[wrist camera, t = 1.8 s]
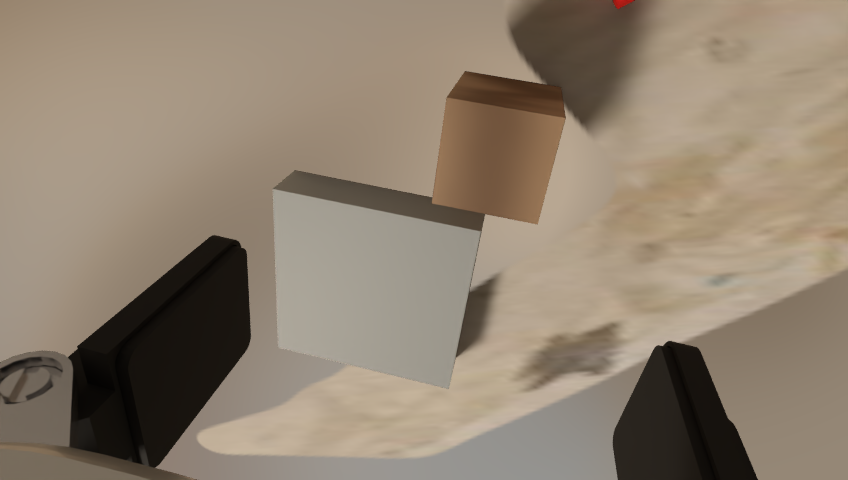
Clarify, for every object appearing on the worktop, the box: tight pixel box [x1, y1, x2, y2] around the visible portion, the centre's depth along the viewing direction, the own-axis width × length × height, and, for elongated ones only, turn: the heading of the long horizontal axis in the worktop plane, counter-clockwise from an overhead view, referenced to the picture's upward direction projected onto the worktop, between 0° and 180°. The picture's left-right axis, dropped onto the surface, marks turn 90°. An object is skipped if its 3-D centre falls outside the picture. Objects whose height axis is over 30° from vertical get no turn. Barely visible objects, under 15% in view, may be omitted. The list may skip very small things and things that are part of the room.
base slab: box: [273, 170, 485, 389], centre depth 32 cm, size 12×12×3 cm
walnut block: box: [432, 71, 566, 224], centre depth 25 cm, size 5×5×6 cm
